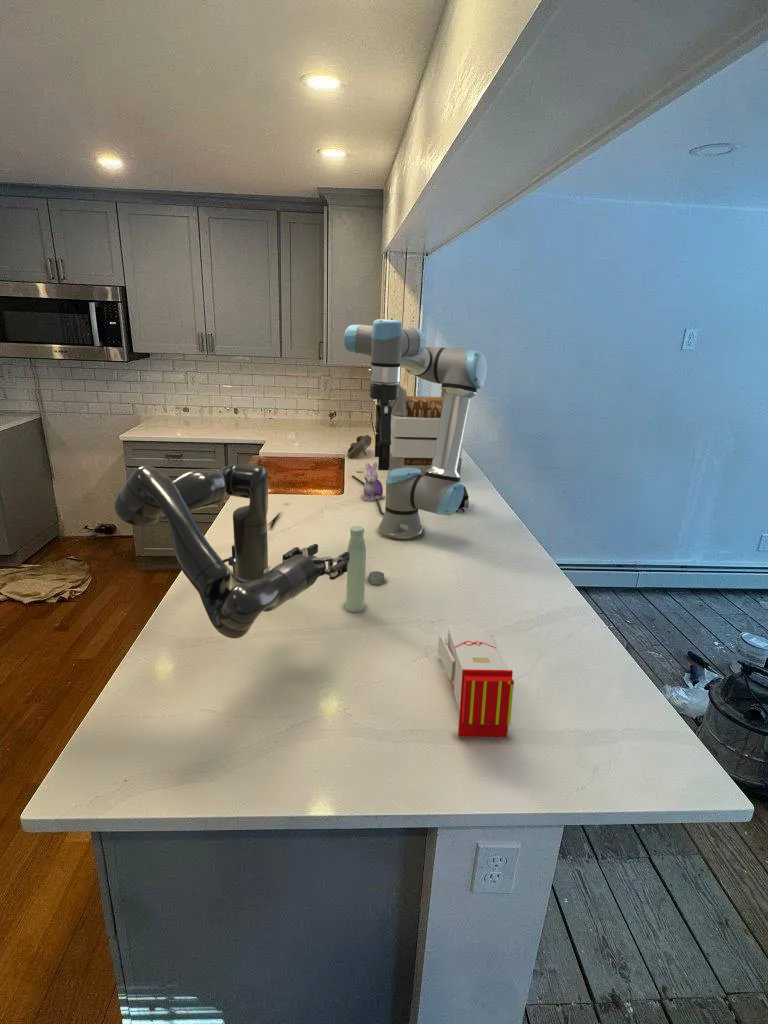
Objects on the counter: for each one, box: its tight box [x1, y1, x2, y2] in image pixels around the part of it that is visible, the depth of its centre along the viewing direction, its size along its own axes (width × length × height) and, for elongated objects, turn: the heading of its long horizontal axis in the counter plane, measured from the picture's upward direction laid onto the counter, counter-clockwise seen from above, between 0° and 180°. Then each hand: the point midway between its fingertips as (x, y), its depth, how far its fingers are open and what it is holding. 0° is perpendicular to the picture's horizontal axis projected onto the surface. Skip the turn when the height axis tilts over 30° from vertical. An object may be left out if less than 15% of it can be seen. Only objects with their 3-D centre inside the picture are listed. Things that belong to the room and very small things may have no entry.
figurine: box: [362, 461, 384, 502], centre depth 233 cm, size 9×10×15 cm
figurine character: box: [455, 486, 470, 513], centre depth 227 cm, size 7×8×15 cm
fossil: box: [347, 434, 372, 459], centre depth 303 cm, size 22×10×15 cm
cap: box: [367, 570, 385, 586], centre depth 164 cm, size 5×5×2 cm
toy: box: [437, 628, 515, 738], centre depth 117 cm, size 12×13×30 cm
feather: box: [267, 512, 281, 529], centre depth 211 cm, size 2×28×2 cm
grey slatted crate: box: [389, 384, 464, 482], centre depth 268 cm, size 34×33×41 cm
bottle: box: [345, 525, 367, 613], centre depth 146 cm, size 5×5×22 cm
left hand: (332, 551), depth 133 cm, fingers open, 8 cm apart
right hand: (381, 463), depth 153 cm, fingers open, 13 cm apart
